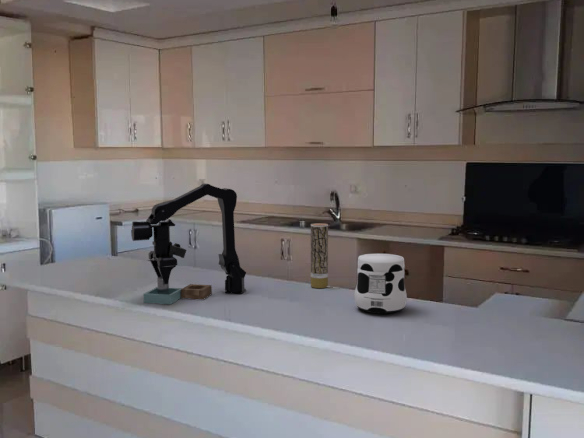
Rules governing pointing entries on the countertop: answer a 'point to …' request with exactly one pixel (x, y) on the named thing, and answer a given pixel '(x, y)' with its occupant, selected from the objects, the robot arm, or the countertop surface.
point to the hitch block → (196, 291)
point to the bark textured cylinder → (319, 255)
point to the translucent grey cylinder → (162, 286)
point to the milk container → (380, 283)
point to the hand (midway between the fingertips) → (163, 281)
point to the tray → (162, 296)
